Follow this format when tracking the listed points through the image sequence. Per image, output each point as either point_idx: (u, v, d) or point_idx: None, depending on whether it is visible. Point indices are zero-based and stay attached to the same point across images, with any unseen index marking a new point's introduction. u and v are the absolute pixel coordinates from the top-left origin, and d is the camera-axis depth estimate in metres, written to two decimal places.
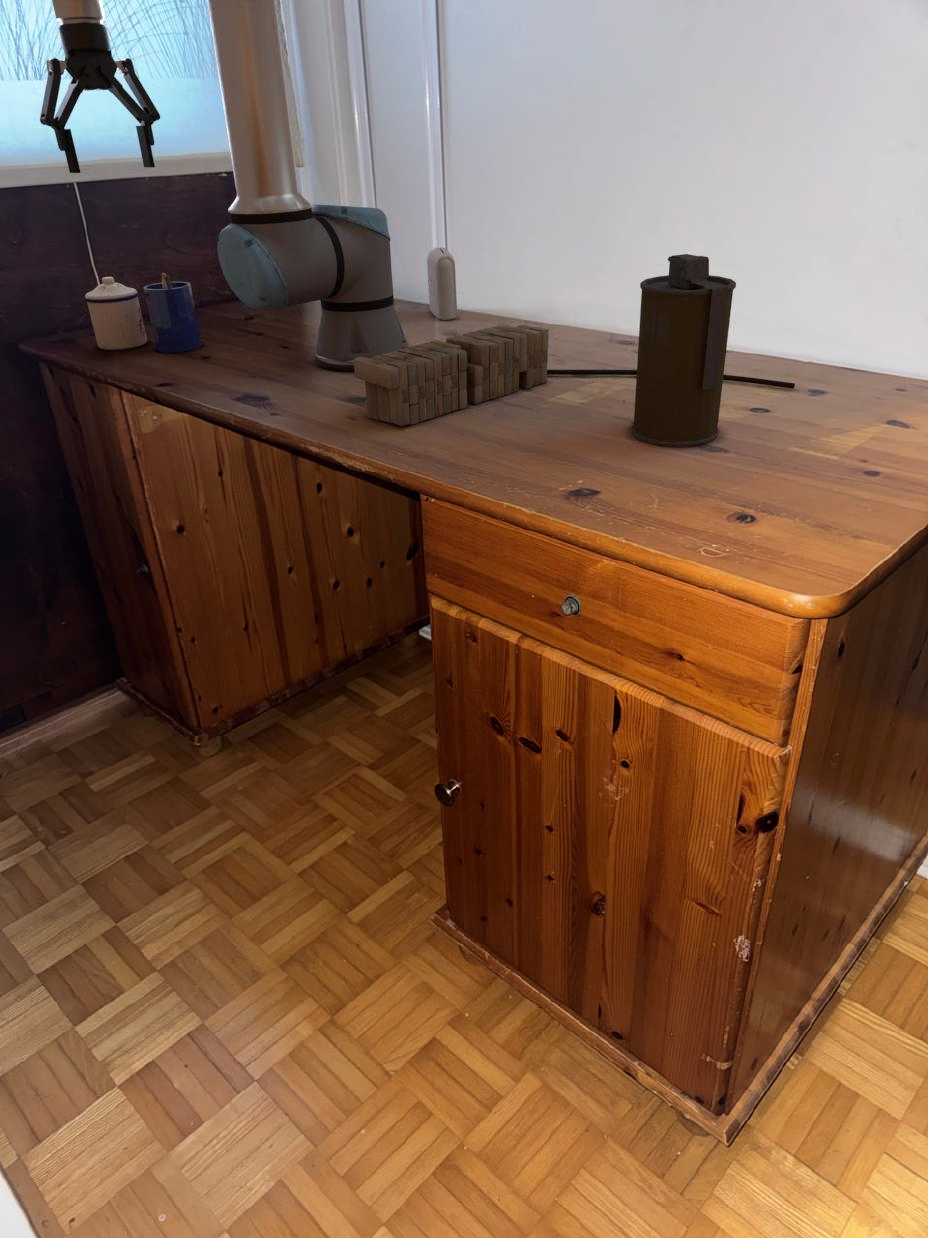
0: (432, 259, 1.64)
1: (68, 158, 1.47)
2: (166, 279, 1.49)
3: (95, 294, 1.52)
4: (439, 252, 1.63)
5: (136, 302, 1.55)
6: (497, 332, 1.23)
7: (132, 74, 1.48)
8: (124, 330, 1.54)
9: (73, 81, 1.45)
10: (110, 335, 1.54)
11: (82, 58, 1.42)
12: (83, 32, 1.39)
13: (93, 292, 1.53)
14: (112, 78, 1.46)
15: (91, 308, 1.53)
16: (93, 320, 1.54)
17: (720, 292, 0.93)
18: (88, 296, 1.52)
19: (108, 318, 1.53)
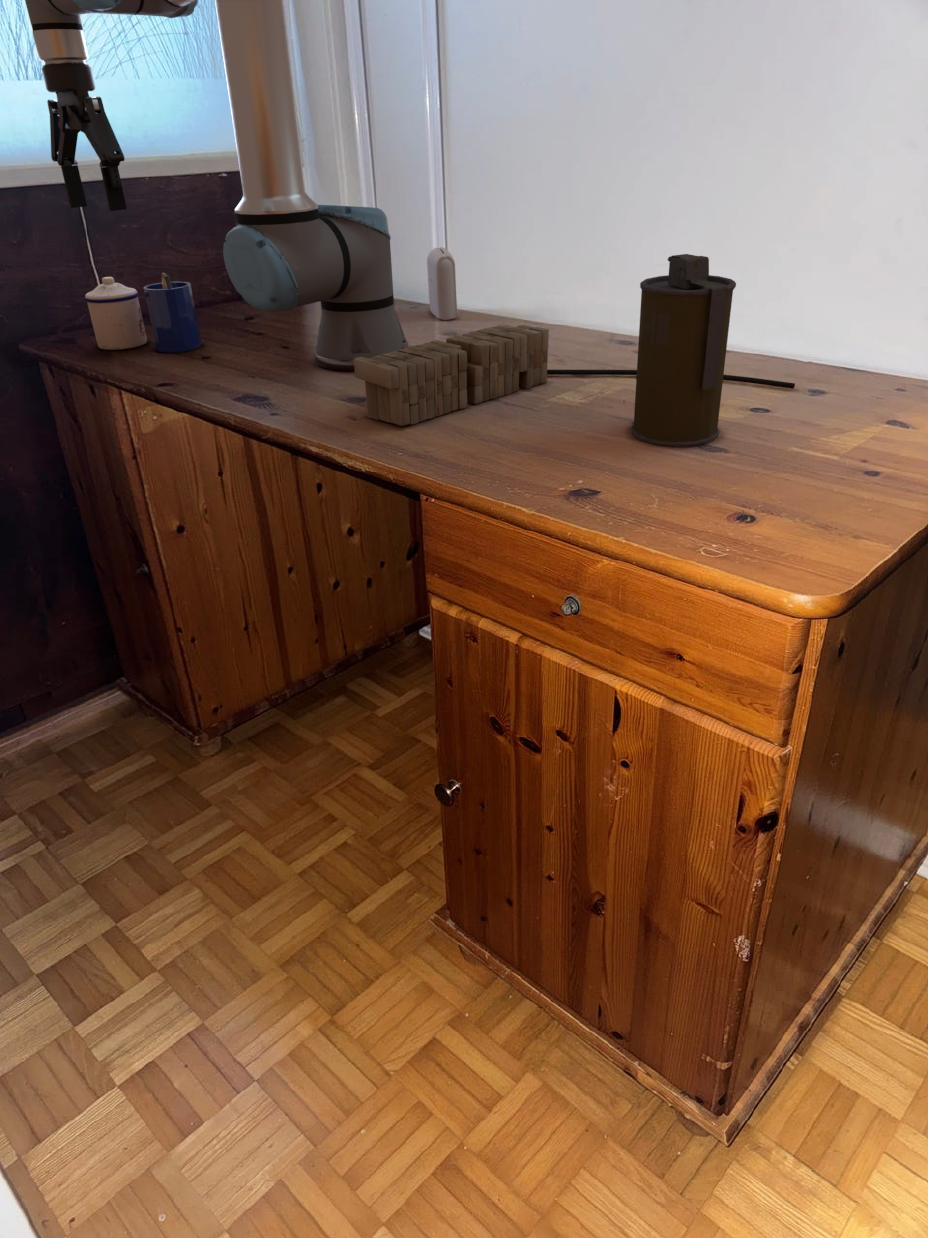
0: (432, 259, 1.64)
1: None
2: (166, 279, 1.49)
3: (95, 294, 1.52)
4: (439, 252, 1.63)
5: (136, 302, 1.55)
6: (497, 332, 1.23)
7: (89, 113, 1.39)
8: (124, 330, 1.54)
9: None
10: (110, 335, 1.54)
11: (61, 98, 1.43)
12: (43, 74, 1.40)
13: (93, 292, 1.53)
14: (75, 118, 1.41)
15: (91, 308, 1.53)
16: (93, 320, 1.54)
17: (720, 292, 0.93)
18: (88, 296, 1.52)
19: (108, 318, 1.53)
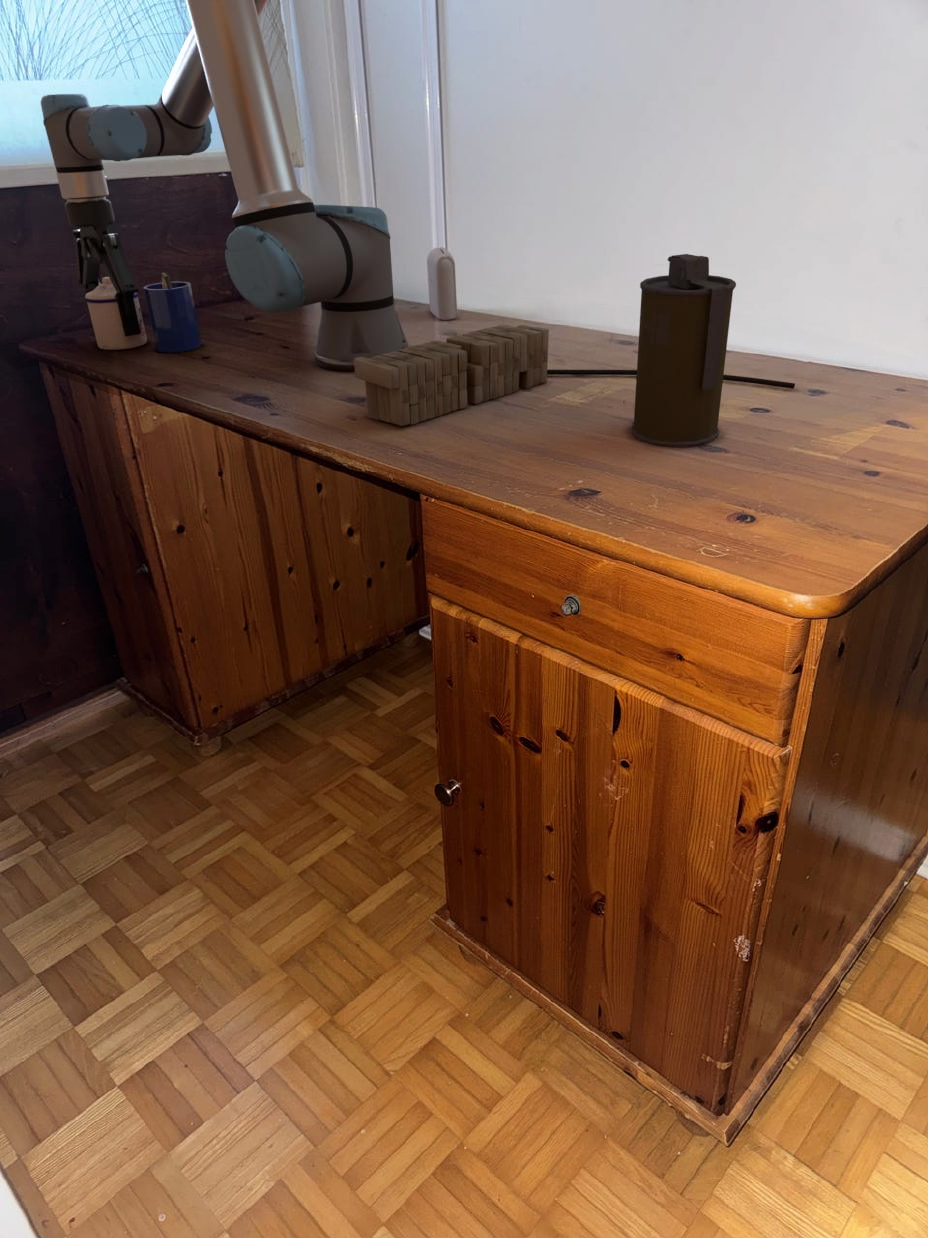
0: (432, 259, 1.64)
1: None
2: (166, 279, 1.49)
3: (95, 294, 1.52)
4: (439, 252, 1.63)
5: (136, 302, 1.55)
6: (497, 332, 1.22)
7: (106, 249, 1.47)
8: None
9: None
10: (110, 335, 1.54)
11: (83, 230, 1.51)
12: (66, 210, 1.48)
13: (93, 292, 1.53)
14: (94, 250, 1.50)
15: (91, 308, 1.53)
16: (93, 320, 1.54)
17: (720, 292, 0.93)
18: (88, 296, 1.52)
19: (108, 318, 1.53)
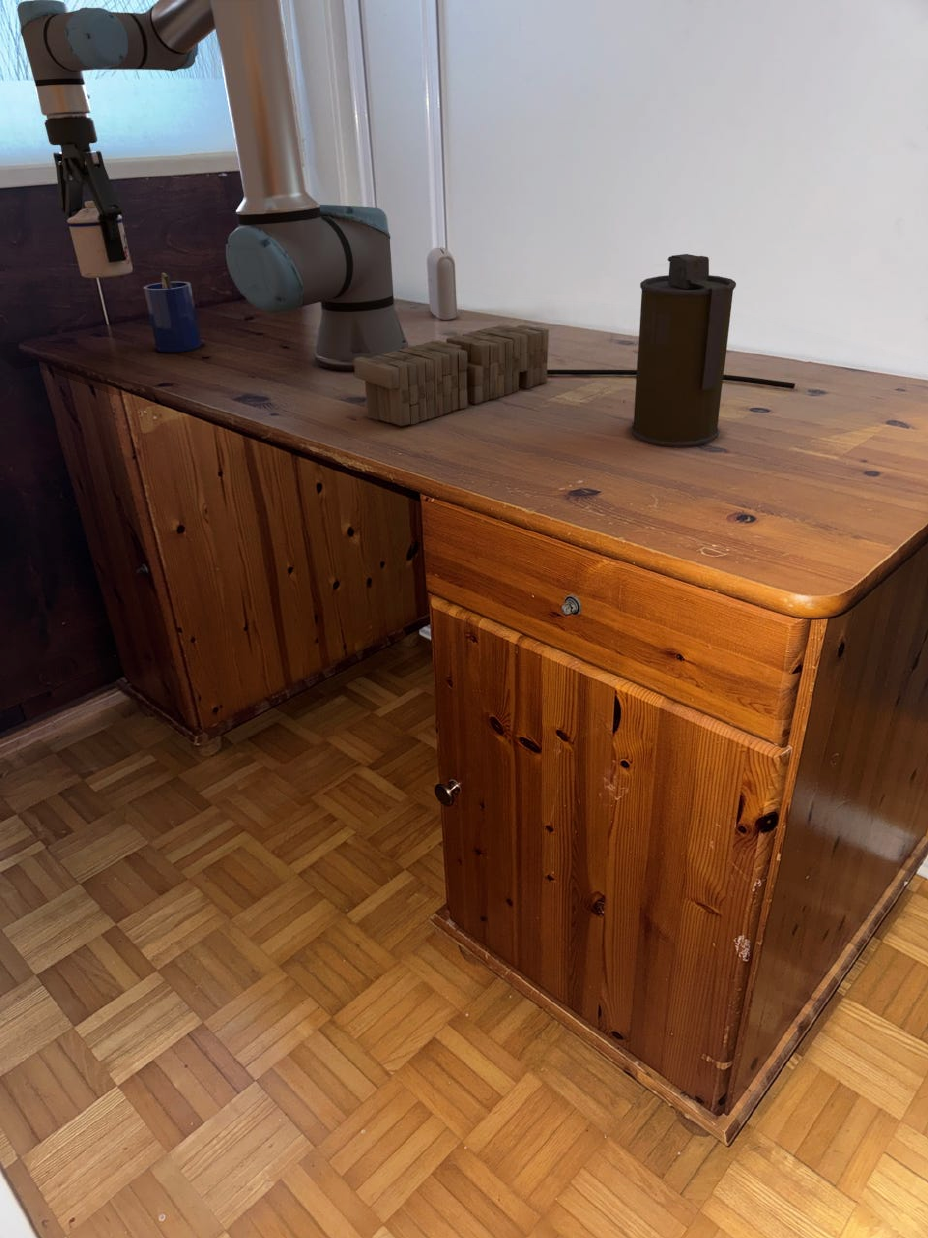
0: (432, 259, 1.64)
1: None
2: (166, 279, 1.49)
3: (77, 217, 1.46)
4: (439, 252, 1.63)
5: (120, 227, 1.49)
6: (497, 332, 1.22)
7: (88, 168, 1.41)
8: None
9: None
10: (94, 261, 1.48)
11: (65, 151, 1.45)
12: (46, 128, 1.42)
13: (75, 216, 1.46)
14: (76, 170, 1.43)
15: (73, 232, 1.47)
16: (76, 246, 1.48)
17: (720, 292, 0.93)
18: (70, 220, 1.46)
19: (91, 243, 1.47)
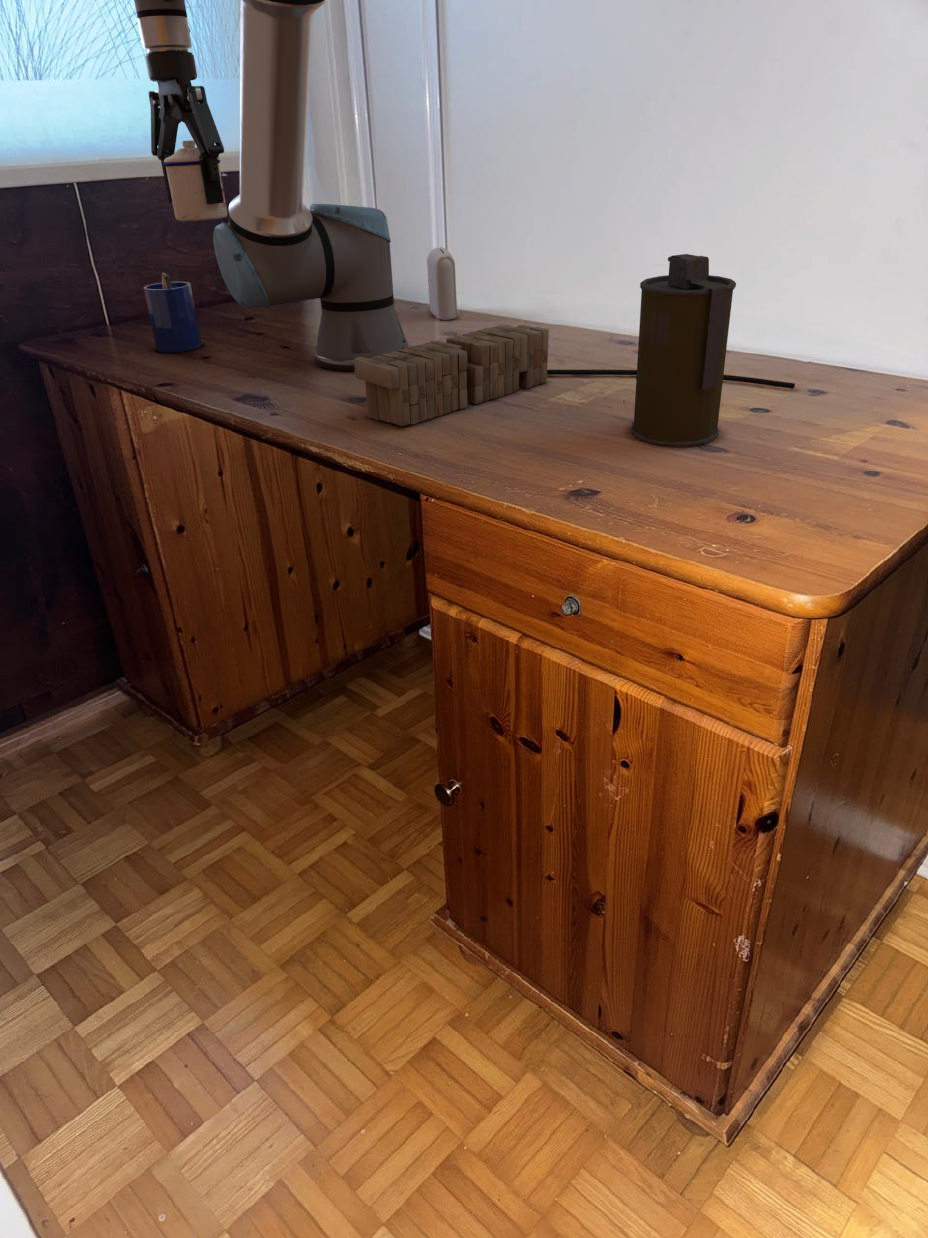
0: (432, 259, 1.64)
1: None
2: (166, 279, 1.49)
3: (176, 156, 1.41)
4: (439, 252, 1.63)
5: None
6: (497, 332, 1.22)
7: (191, 103, 1.36)
8: None
9: None
10: (191, 203, 1.43)
11: (163, 88, 1.40)
12: (146, 63, 1.37)
13: (173, 155, 1.42)
14: (176, 107, 1.39)
15: (171, 172, 1.42)
16: (173, 187, 1.43)
17: (720, 292, 0.93)
18: (168, 159, 1.41)
19: (190, 183, 1.42)
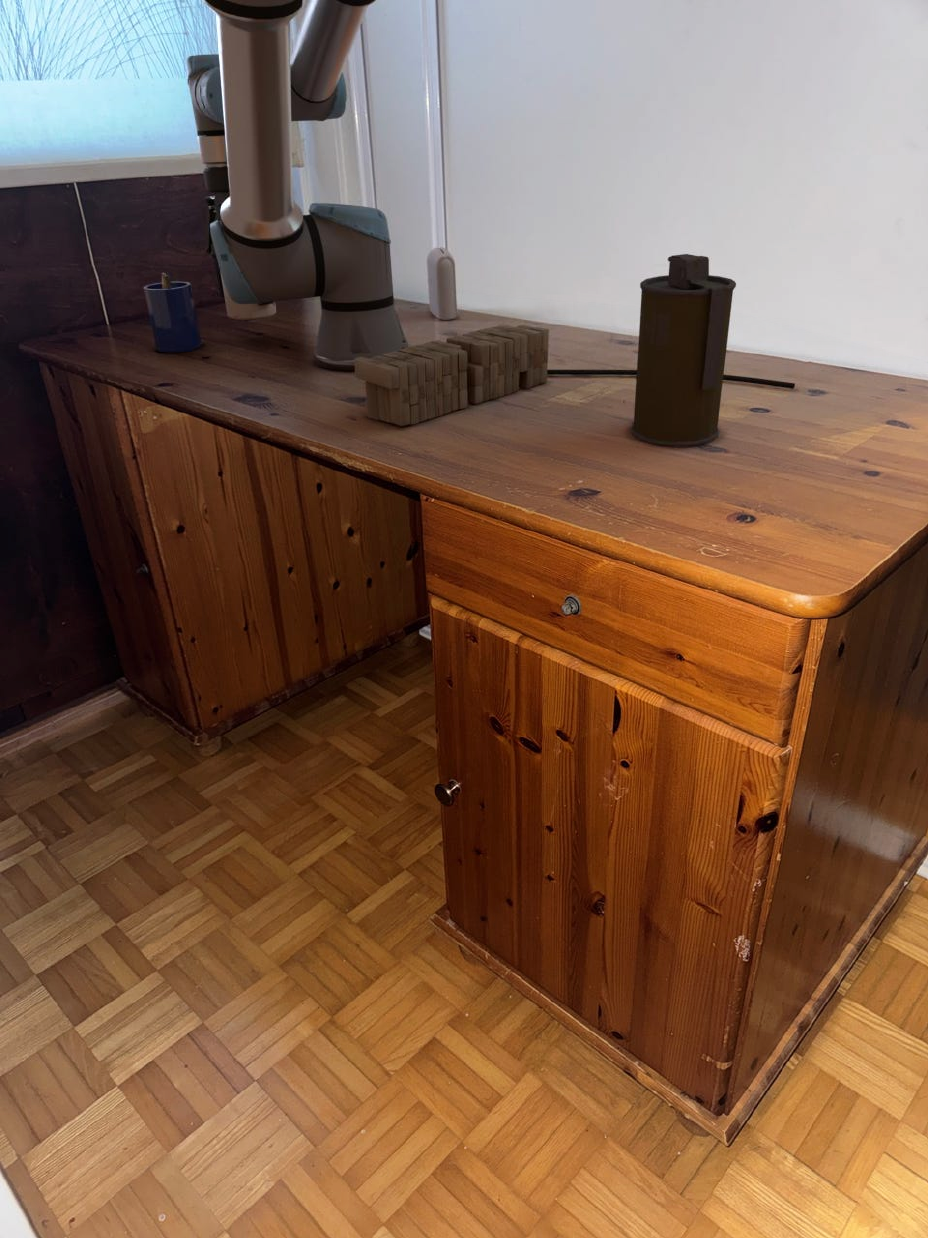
0: (432, 259, 1.64)
1: None
2: (166, 279, 1.49)
3: None
4: (439, 252, 1.63)
5: None
6: (497, 332, 1.22)
7: None
8: None
9: None
10: (244, 304, 1.52)
11: (219, 197, 1.48)
12: (204, 176, 1.45)
13: None
14: None
15: None
16: (226, 289, 1.51)
17: (720, 292, 0.93)
18: None
19: None
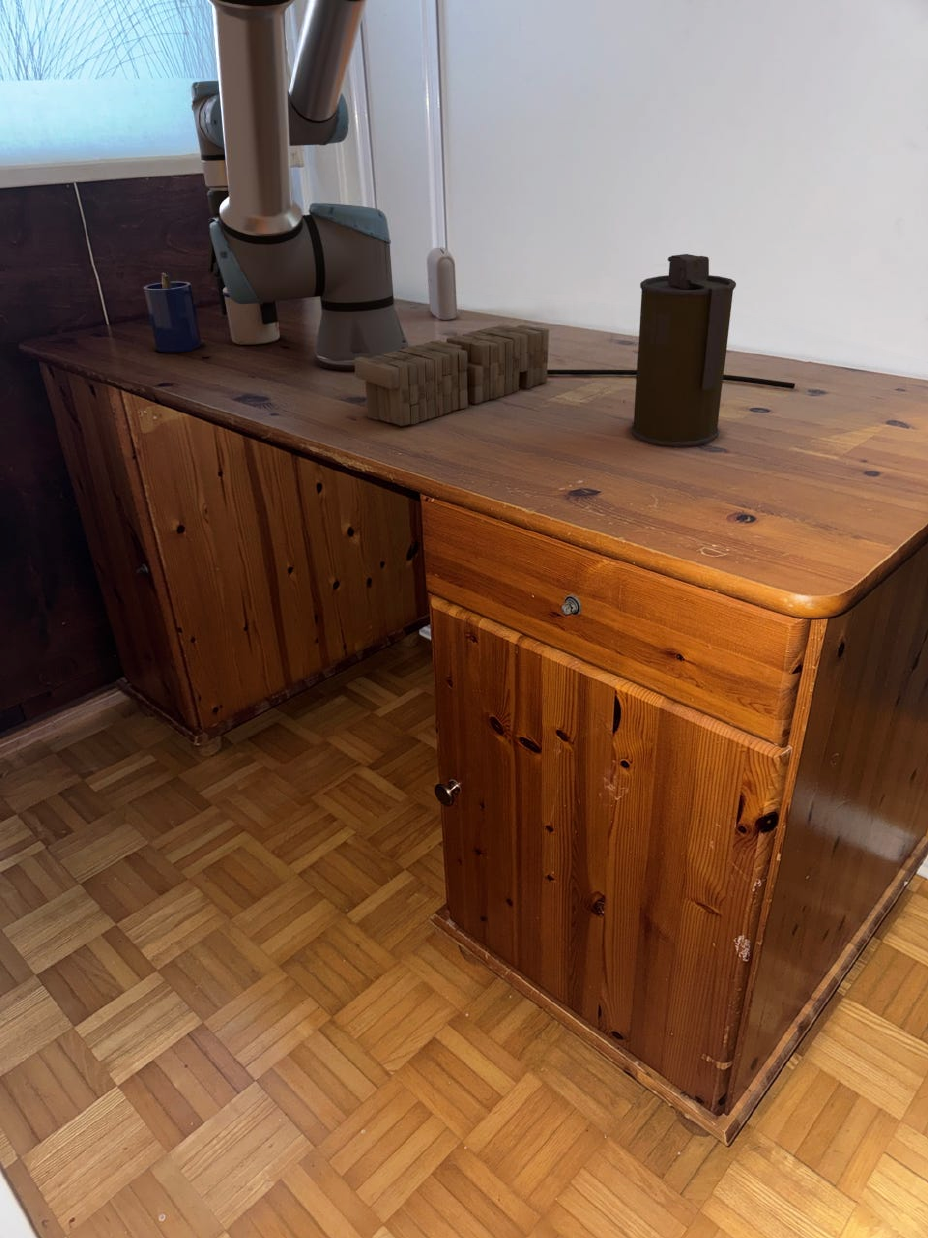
0: (432, 259, 1.64)
1: None
2: (166, 279, 1.49)
3: None
4: (439, 252, 1.63)
5: None
6: (497, 332, 1.22)
7: None
8: (261, 325, 1.54)
9: None
10: (248, 330, 1.54)
11: None
12: (208, 199, 1.47)
13: None
14: None
15: (230, 302, 1.52)
16: (231, 315, 1.54)
17: (720, 292, 0.93)
18: None
19: (247, 313, 1.52)
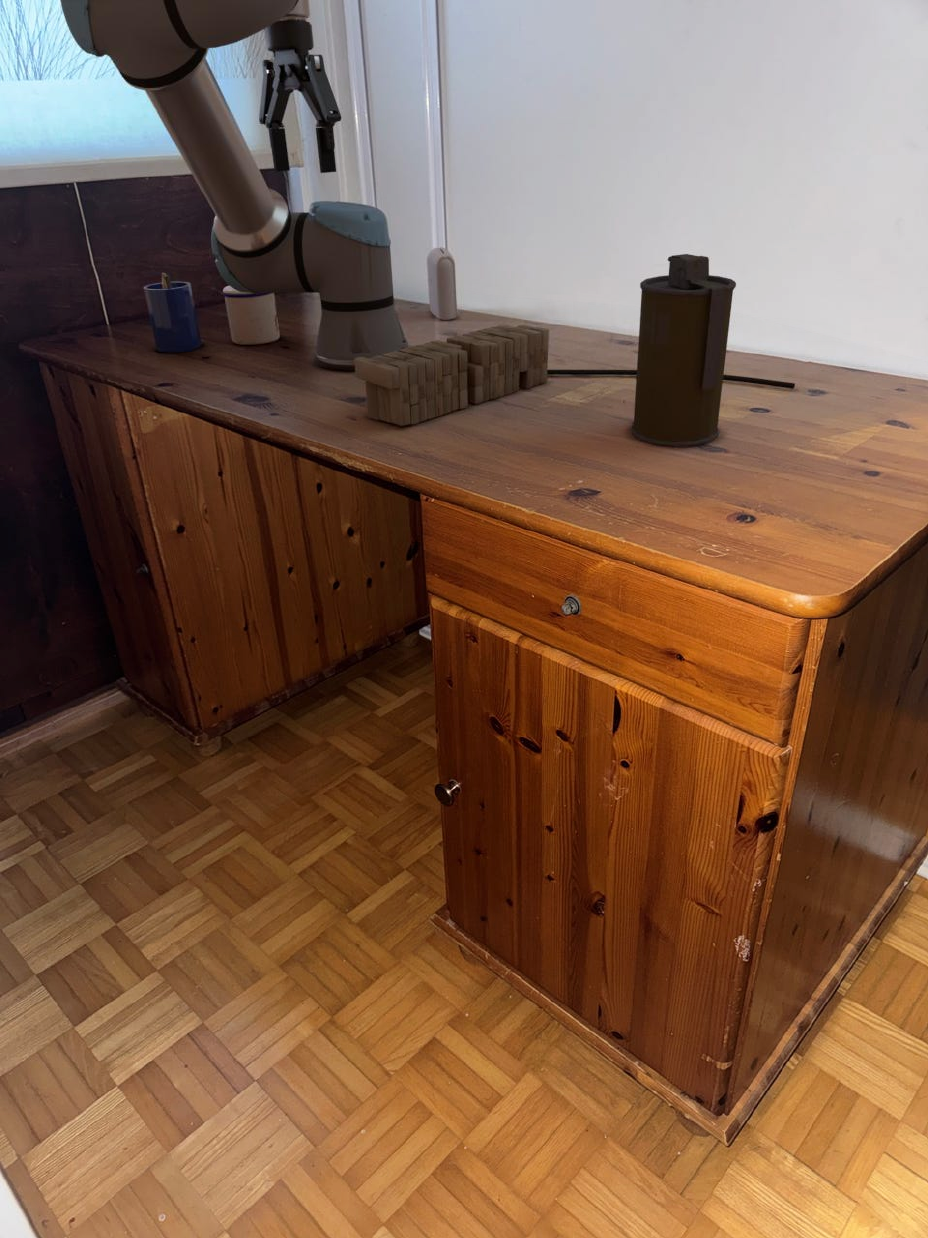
0: (432, 259, 1.64)
1: None
2: (166, 279, 1.49)
3: None
4: (439, 252, 1.63)
5: (273, 297, 1.55)
6: (497, 332, 1.22)
7: (310, 72, 1.36)
8: (261, 325, 1.54)
9: None
10: (248, 330, 1.54)
11: (279, 58, 1.40)
12: None
13: None
14: (293, 77, 1.39)
15: (230, 302, 1.52)
16: (231, 315, 1.54)
17: (720, 292, 0.93)
18: (228, 291, 1.52)
19: (247, 313, 1.52)
